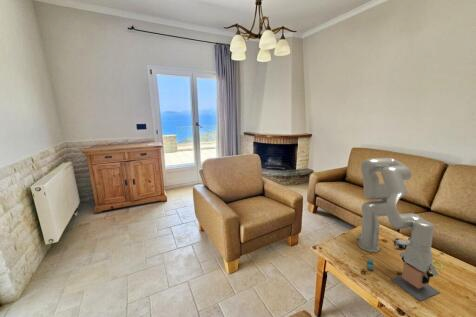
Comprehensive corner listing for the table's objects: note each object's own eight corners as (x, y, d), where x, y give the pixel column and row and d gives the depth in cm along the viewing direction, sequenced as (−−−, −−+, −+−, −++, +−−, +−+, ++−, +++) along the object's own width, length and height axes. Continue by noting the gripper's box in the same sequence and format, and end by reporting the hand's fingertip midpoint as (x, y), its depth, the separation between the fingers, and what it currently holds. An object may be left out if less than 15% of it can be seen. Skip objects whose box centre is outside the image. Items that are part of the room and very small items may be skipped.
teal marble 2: (373, 266, 114) (375, 269, 115) (369, 262, 116) (371, 265, 117) (368, 268, 114) (370, 272, 115) (365, 264, 117) (366, 267, 118)
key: (413, 257, 125) (414, 254, 125) (441, 264, 119) (441, 261, 119) (416, 264, 119) (417, 261, 119) (445, 272, 113) (446, 268, 113)
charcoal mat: (389, 279, 108) (390, 278, 108) (408, 273, 112) (408, 272, 112) (420, 301, 95) (420, 300, 95) (439, 293, 99) (439, 292, 99)
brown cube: (401, 277, 105) (403, 263, 104) (411, 274, 107) (413, 260, 106) (418, 288, 98) (420, 274, 97) (428, 284, 101) (430, 270, 99)
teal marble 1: (371, 260, 118) (373, 265, 117) (372, 258, 120) (374, 263, 120) (366, 260, 120) (367, 265, 120) (367, 257, 122) (368, 263, 122)
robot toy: (395, 251, 132) (425, 257, 124) (395, 245, 131) (426, 250, 124) (392, 241, 142) (420, 246, 135) (392, 235, 142) (421, 239, 134)
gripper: (396, 237, 106) (392, 267, 110) (437, 258, 90) (431, 292, 93) (406, 234, 109) (402, 264, 112) (447, 254, 92) (442, 288, 95)
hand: (415, 276), depth 102 cm, fingers closed on brown cube, 7 cm apart
